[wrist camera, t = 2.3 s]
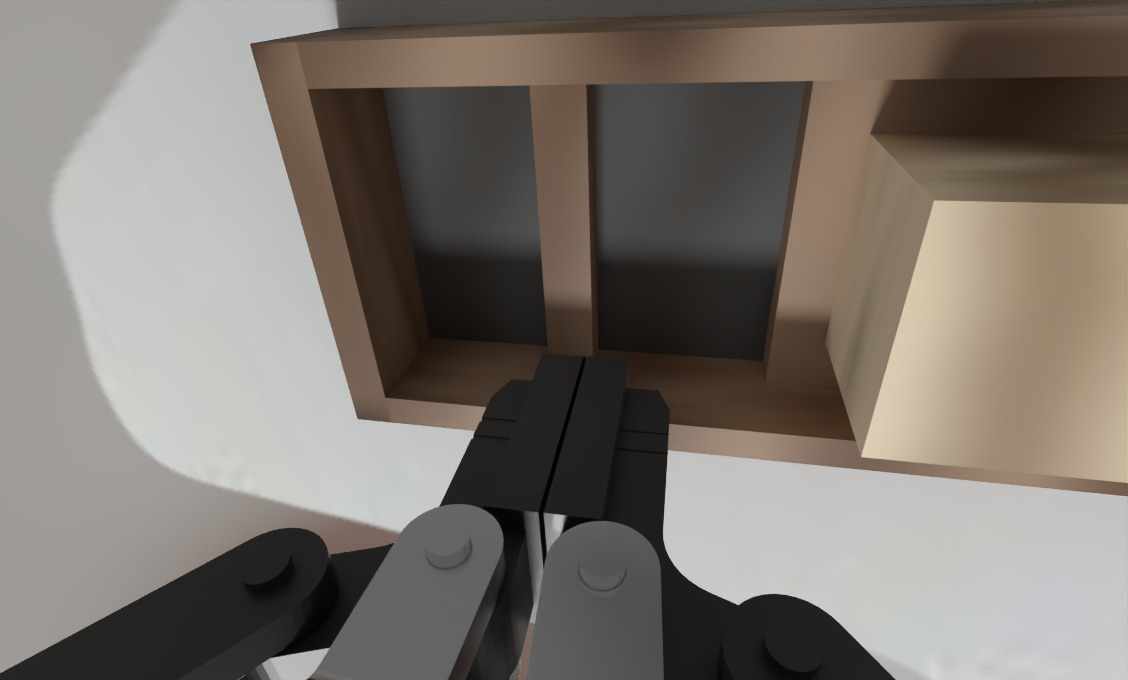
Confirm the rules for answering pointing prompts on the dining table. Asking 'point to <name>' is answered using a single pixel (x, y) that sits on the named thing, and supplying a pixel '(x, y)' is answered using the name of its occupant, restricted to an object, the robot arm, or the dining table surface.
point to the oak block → (988, 303)
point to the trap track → (645, 196)
